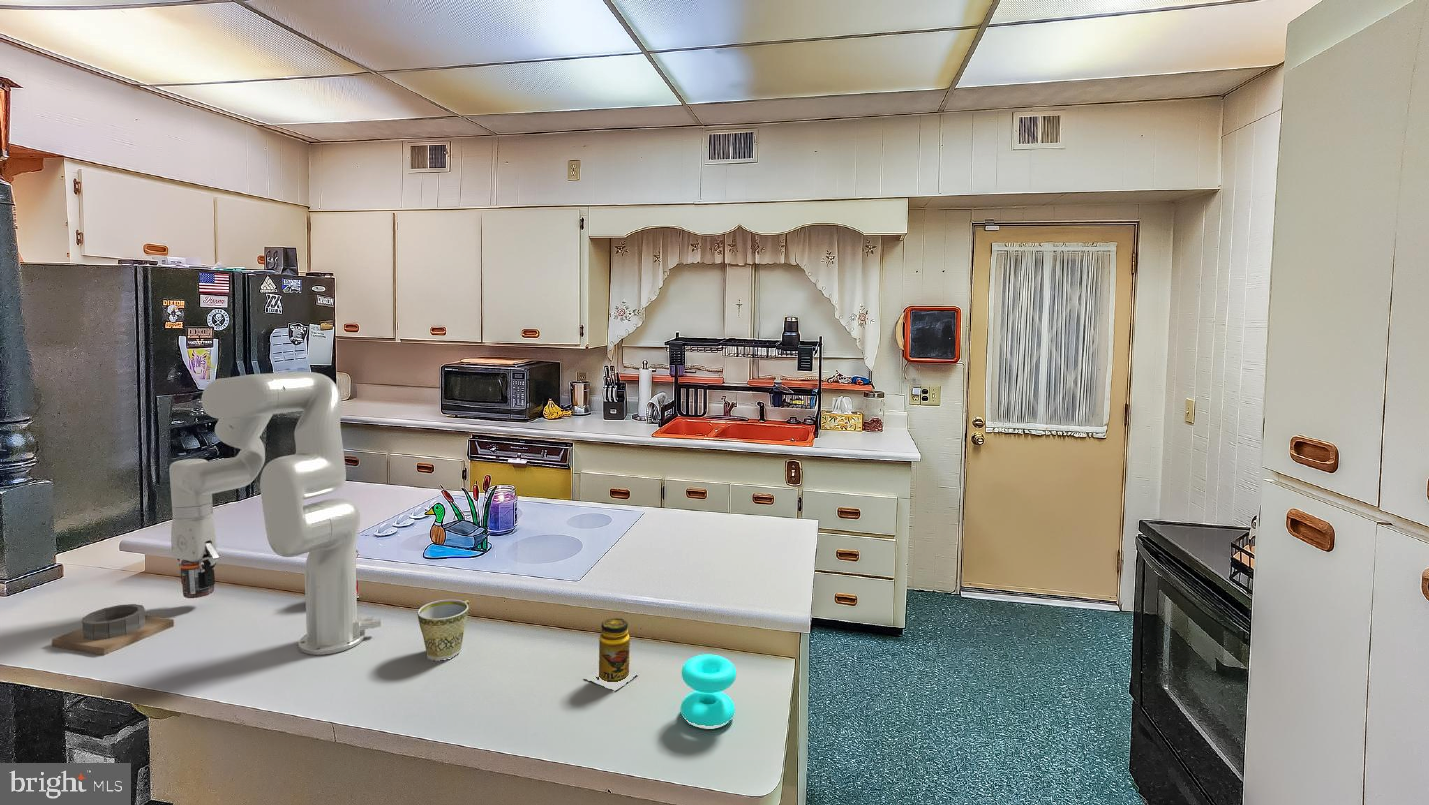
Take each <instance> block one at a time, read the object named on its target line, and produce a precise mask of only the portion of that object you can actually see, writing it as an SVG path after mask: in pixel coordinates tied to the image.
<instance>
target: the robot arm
mask: <svg viewBox="0 0 1429 805" xmlns="http://www.w3.org/2000/svg"><path fill="white" fill-rule="evenodd" d="M201 405H202V406H201V407H202V409H203V410H204V412H205V413H206V414H207V415H208V416H209V417H211V418H214V419H218V421H217V423H216V424H215V426H214V433H215V436H216V437H217V439H218V440H220V441H221V442H222V443H224V444H226V445H227V446H229V447H233V448H235V449H239V450H240V451H239V452H238V453H237V455H236V456H234V457H229V458H221V459H216V460H210V461H208V460H207V459H204V458H186V459H182V460H181V459H180V460H176V461H174V462H173V461H172V463H170V465H169V469H168V470H169V482H170V483H169V484H170V485H169V486H170V497H171V499H170V500H171V510H172V512H171V513H172V520H171V521H172V523H171V530H170V531H171V532H170V533H171V535H170V542H171V544H170V546H171V555H172V557H173V558H175V559H177V561H178V567H179V569H180V570H179V571H181V561H182V560H186V561H191V562H197V563H198V567H199V570H200V572H198V582H199V588H200V589H203V588H206V587H209V586H212V585H214V586H215V584H216V579H215V569H216V565H217V562H218V560H219V559H220V556H219V555H218V542H217V535H216V533H217V532H216V528H215V522H214V518H213V516H214V506H213V505H214V504H213V494H217V493H221V492H227V491H230V490H237V489H241V488H244V487H247V486H249V485H250V484H251V483H252V482H253V481H254V480H255V479H256V478H257V476H258V475H259V473H260V472H261V470H262V472H261V475H260V481H259V487H260V497H261V505H262V512H263V518H264V520H263V521H264V526H265V527H264V528H265V533H266V538H267V542H268V544H269V546H270V548H271V549H272V551H273V552H274V553H275V554H276V555H277V556H278V557H279V556H280V557H282V558H294V557H298V556H301V555H304V554H308V555H307V558H306V560H305V565H304V587H305V588H304V590H305V591H304V593H305V621H306V622H305V623H306V634H305V635H303V636H302V637H301V638H300V640H299V641H298V643H297V644H298V650H299V651H300V652H302V653H304V654H307V655H312V656H314V655H315V656H319V655H321V656H323V655H331V654H337V653H340V652H343V651H346V650H349V649H352V648H354V647H355V646H357V645H359V644H360V643H361V642H362V641H364V640H365V637H366V630H370V629H376V628H381V624H382V623H381V618H379V617H378V618H375V619H374V616H366V617H364V618H362V617H360V616H359V613H358V608H357V605H358V604H357V602H358V601H357V600H358V599H356V550H357V542H358V538H359V537H358V536H359V532H360V525H361V516H360V512H359V508H358V507H357V505H355V503H353V502H352V501H350V500H349V499H347V498H346V499H345V498H330V499H329V498H328V499H325V500H320V501H316V502H312V503H309V504H306V505H304V500H307V499H311V498H315V497H316V498H317V497H320V496H324V495H328V494H331V493H334V492H337V491H339V490H340V489H341V488H343V486H344V485H345V483H346V480H347V473H346V472H347V471H346V461H345V455H344V453H345V452H344V444H343V437H342V436H343V435H342V428H341V414H342V398H341V393H340V389H339V388H338V385H337V384H336V383H335V382H334V381H333V379H332V378H330V377H329V376H327V375H325V374H323V373H318V372H314V371H313V372H312V371H293V372H292V371H291V372H289V371H288V372H272V373H256V374H246V375H245V374H244V375H239V376H232V377H224V378H222V377H221V378H217V379H214V380H212V381H210V382H209V383H208V384H207V385H206V386H205V387H204V390H203V392H202V394H201ZM292 412H293V413H294V412H303V413H302V414H301V416H300V417H299V419H298V420H297V424H296V425H295V429H294V433H293V434H294V436H293V437H294V441H295V442H294V443H295V454H290V455H283V456H279V457H276V458H274V459H272V460H270V461H269V462H268V463H267V464H265V461H266V449H265V445H264V443H263V441H262V439H261V436H262V434H263V432H264V431H265V428H266V427H267V425H268V424H269V422H270V420H271V418H272V417H273V415H277V414H286V413H292ZM264 465H265V466H264ZM262 468H263V469H262ZM204 555H207V557H205V558H202V557H203V556H204ZM205 560H208V561H207V562H206V563H205V565H204V564H203V561H205ZM180 581H181V584H182V575H181V574H180Z"/></svg>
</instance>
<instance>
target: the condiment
mask: <svg viewBox="0 0 1429 805" xmlns="http://www.w3.org/2000/svg"><path fill="white" fill-rule="evenodd" d="M600 626H601V630H600V635H599V639H598V644H599V646H598V651H599V652H598V654H599V655H598V669H599V677H600V678H601V679H602V680H604V681H607V682H618V681H621V680H623V679H625V678H626V677H627V676H628V675H629V672H630V661H631V660H630V653H631V652H630V647H631V646H630V644H631V643H630V640H631V637H630V634H629V629H628V628H629V623H628V621H627V620H626V619H624V618H622V617H611V618H610V617H609V618H607V619H605V620H603V621H602V623H601V625H600Z"/></svg>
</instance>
